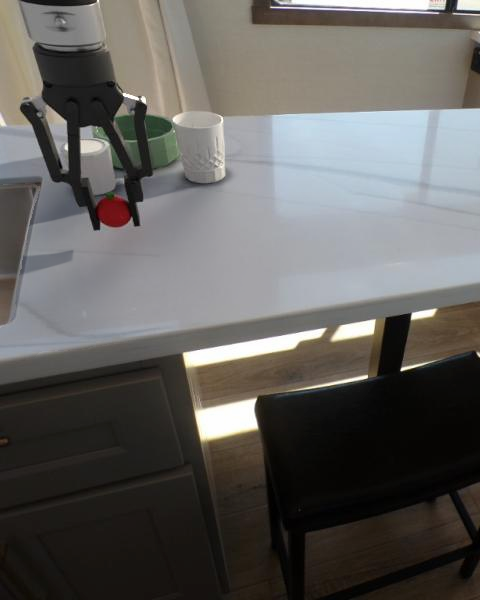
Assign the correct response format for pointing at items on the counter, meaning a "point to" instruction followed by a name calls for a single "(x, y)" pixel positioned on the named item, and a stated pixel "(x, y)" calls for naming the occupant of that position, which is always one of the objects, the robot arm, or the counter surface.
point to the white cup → (201, 145)
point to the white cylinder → (95, 164)
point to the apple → (113, 210)
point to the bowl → (157, 134)
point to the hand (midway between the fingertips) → (117, 223)
